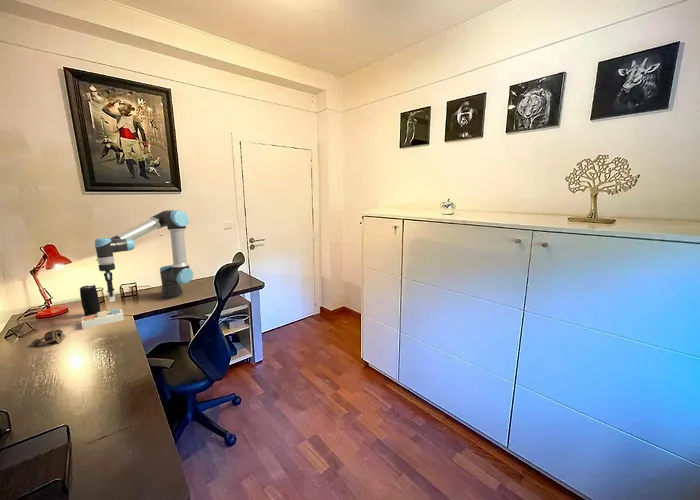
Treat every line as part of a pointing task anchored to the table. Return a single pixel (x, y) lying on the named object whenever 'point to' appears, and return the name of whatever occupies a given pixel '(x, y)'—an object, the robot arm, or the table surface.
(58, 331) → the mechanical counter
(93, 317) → the three dot button
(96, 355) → the table surface
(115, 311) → the one dot button
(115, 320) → the button panel
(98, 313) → the two dot button
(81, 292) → the portable speaker
